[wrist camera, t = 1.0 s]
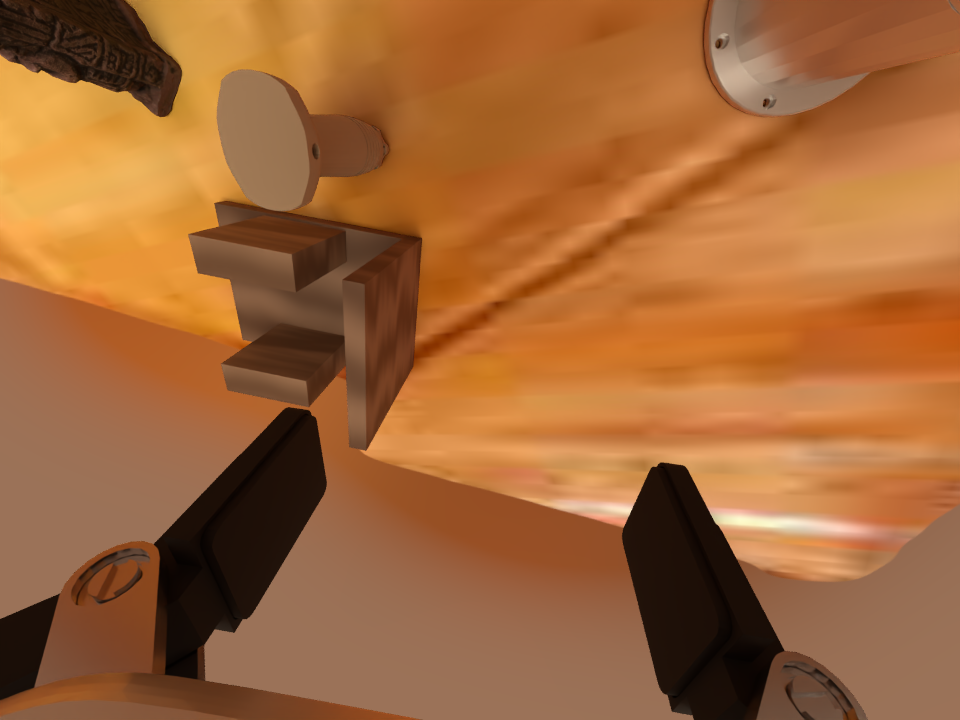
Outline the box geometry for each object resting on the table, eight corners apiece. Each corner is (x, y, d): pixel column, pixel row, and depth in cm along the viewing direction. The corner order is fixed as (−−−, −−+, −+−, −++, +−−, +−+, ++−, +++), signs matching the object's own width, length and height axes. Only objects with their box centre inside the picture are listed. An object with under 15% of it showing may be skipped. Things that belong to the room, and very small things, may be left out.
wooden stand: (225, 201, 36) (72, 227, 24) (421, 238, 36) (364, 284, 24) (251, 334, 44) (144, 403, 32) (413, 366, 43) (366, 450, 31)
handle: (348, 184, 34) (235, 205, 21) (342, 100, 31) (203, 64, 18) (399, 190, 34) (315, 216, 21) (398, 106, 30) (298, 74, 17)
